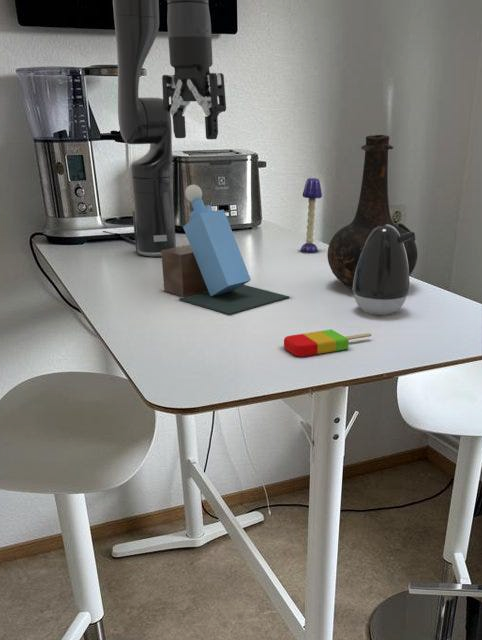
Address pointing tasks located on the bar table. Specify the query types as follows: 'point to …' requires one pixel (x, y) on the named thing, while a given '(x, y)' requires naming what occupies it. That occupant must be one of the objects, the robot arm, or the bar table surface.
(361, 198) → the glass bottle
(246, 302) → the mat
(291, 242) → the bar table surface
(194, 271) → the block
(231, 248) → the bottle
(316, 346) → the popsicle
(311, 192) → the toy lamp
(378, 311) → the pump dispenser
